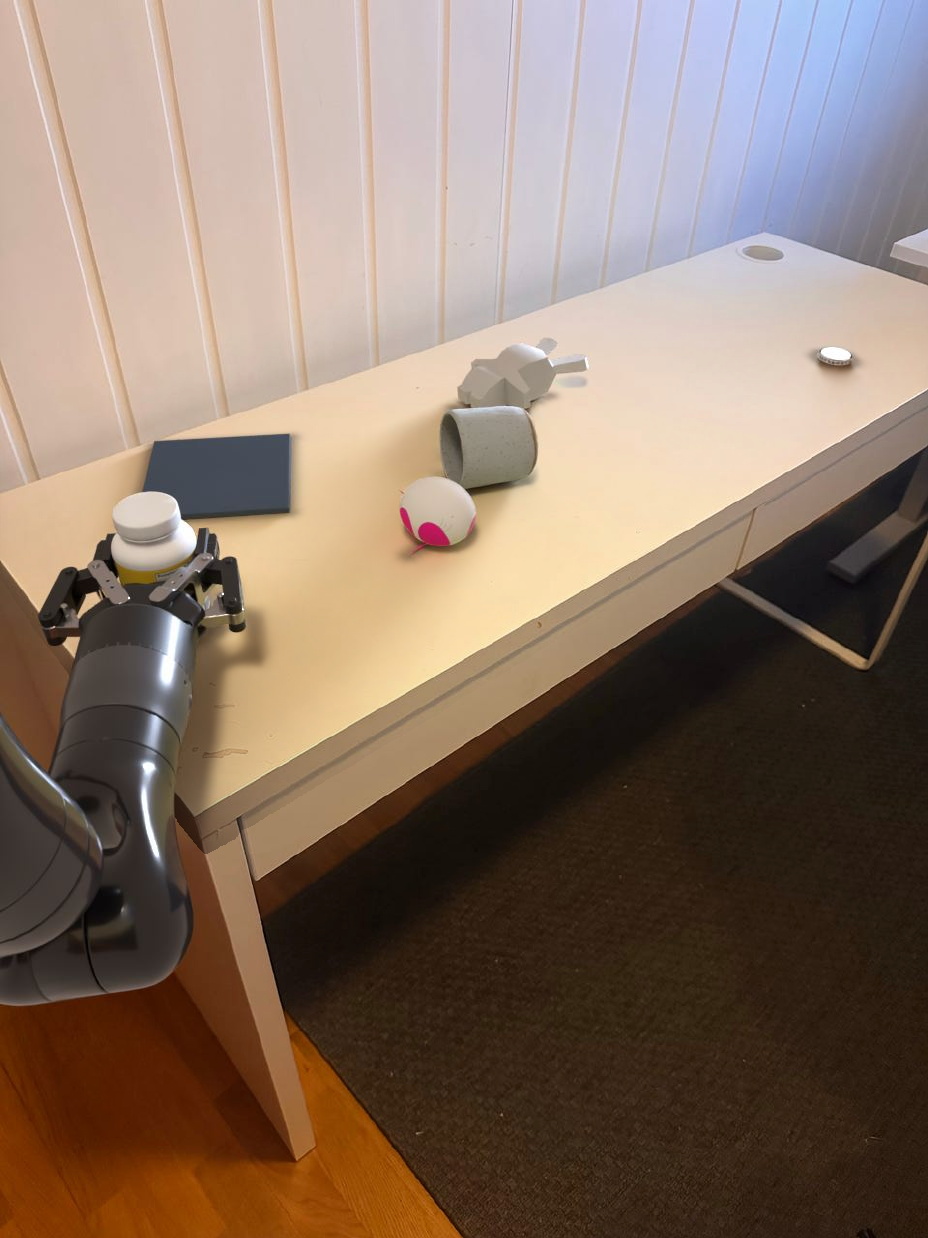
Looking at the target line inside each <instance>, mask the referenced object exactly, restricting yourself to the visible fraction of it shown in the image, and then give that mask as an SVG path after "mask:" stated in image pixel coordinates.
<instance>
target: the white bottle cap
mask: <svg viewBox="0 0 928 1238" xmlns="http://www.w3.org/2000/svg"><path fill="white" fill-rule="evenodd" d="M853 356H854V355H853V353H852V352H851V351H849V350H847V349H845V348H841V347H838V346H824V347H821V348H820V349H819V350H818V353H817V358H818V359H819V360H820V361H822V362H823V363H826V364H829V365H834V366H846V365H849V364H851V363H852V360H853Z"/></svg>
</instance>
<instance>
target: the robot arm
mask: <svg viewBox="0 0 928 1238" xmlns="http://www.w3.org/2000/svg"><path fill="white" fill-rule="evenodd" d="M116 533H117V532H113V533H112V532H111V533H110V532H109V533H107V534H106V536H105V539H100V541H99V542H98V543H97V545H96V547H95V551H94V554H93V559H92V560H91V561H90V562H89V563H88V564H86V567H85V568H83V569H82V568H81V569H78V568H77V567H75V566H67V567H64V568H62V569H60V571H59V573H58V575H57V576H56V577H57V578H56V580H55V581H54V583H53V585H52V587H51V589H50V591H49V593H48V595H47V597H46V598H45V600H44V603H43V604H42V606H41V609H40V610H39V612H38V614H37V619H38V621H39V625H40V627H41V629H42V632H43V634H44V637H45V639H46V642H47V644H48V645H49V646H51V647H58V646H61V645H63V644H64V643H65V642H66V641H67V639H68V638H79V639H78V644H77V647H76V651H75V655H74V658H73V662H72V665H71V669H70V672H69V676H68V679H67V680H68V681H67V683H66V687H65V690H64V694H63V698H62V701H61V702H62V703H61V707H60V712H59V713H60V715H59V727H58V733H57V737H56V740H55V743H54V748H53V751H52V754H51V759H50V761H49V762H50V763H49V767H48V771H47V770H46V769H45V768H44V767H43V765H42V764H40V762H39V761H38V760H37V759H36V758H35V757H34V756H33V755H32V754H31V753H30V752H29V750H28V749H27V748H26V747H25V746H24V744H23V743H22V742H21V740H20V739H19V737H18V735H17V734H16V733H15V731H14V730H13V729H12V727H11V726H10V724H9V722H8V721H7V720H6V718H5V717H4V715H3V713H2V712H1V711H0V1005H4V1006H5V1005H6V1006H13V1007H15V1006H16V1007H24V1006H27V1007H28V1006H37V1005H43V1004H49V1003H50V1004H51V1003H56V1002H63V1001H69V1000H75V999H76V1000H77V999H82V998H88V997H95V996H100V995H107V994H116V993H123V992H130V991H135V990H136V991H137V990H142V989H146V988H149V987H152V986H156V985H157V984H159V983H162V982H163V981H164V980H167V978H168V977H169V976H170V975H172V973H174V971H175V970H176V969H177V968H178V966H179V965H180V964H181V962H182V961H183V959H184V957H185V955H186V954H187V951H188V949H189V948H190V944H191V942H192V937H193V932H194V925H195V916H194V907H193V902H192V901H193V900H192V895H191V891H190V887H189V883H188V879H187V875H186V872H185V868H184V864H183V859H182V856H181V852H180V847H179V841H178V840H179V839H178V835H177V834H178V833H177V827H176V818H175V817H176V816H175V815H176V814H175V793H176V783H177V782H176V781H177V773H178V767H179V759H180V753H181V747H182V744H183V740H184V738H185V735H186V731H187V729H188V728H187V727H188V724H189V723H188V722H189V718H190V713H191V710H192V709H193V708H192V707H193V700H194V699H193V695H192V693H193V686H194V679H195V670H196V662H197V654H198V645H199V641H200V639H201V637H203V635H205V633H206V632H207V629H208V628H213V627H220V626H227V625H228V629H229V632H232V633H234V634H235V633H236V634H238V633H242V632H244V631H245V630H246V628H247V621H246V611H245V603H244V602H245V601H244V594H243V585H242V580H241V579H242V578H241V575H240V569H239V564H238V558H236V557H235V556H230V555H229V556H228V555H227V556H225V557H222V558H221V559H220V555H221V549H220V545H219V540H218V539H219V538H218V536H217V534H216V533H214V532H212V533H211V532H210V529H209V527H199V528H198V530H197V537H196V540H197V544H196V550H195V556H196V558H195V559H194V560H193V561H192V562H191V563H190V564H189V565H188V566H187V567H180V568H179V569H178V570H177V571H176V572H175V573H174V574H173V575H172V576H171V577H170V578H169V579H168V580H167V581H158V582H153V583H149V584H143V583H126V584H125V586H124V587H122V586H121V584H120V581H119V578H118V574H117V571H116V568H115V564H114V560H113V557H112V552H111V543H112V540H113V538H114V536H115V534H116ZM217 585H218V586H222V591H219V592H218V593H216V598H215V599H214V600H213V602H212V605H211V607H210V608H209V609H206V610H204V609H203V605H204V603H205V598H206V596H207V595H209V594H210V593H211V592H212V591H213V590H214V589H215V588H216V586H217ZM93 593H95V594H96V596H97V598H98V600H99V601H98V602H97V603H95V604H94V605H93V606H92V607H90V608H89V609H88V610H86V611H85V612H84V613H83V614H82V615H81V616H80V617H78V615H79V613H80V611H81V608H82V607H83V605H84V602H85V600H86V598H87V595H89V594H93Z"/></svg>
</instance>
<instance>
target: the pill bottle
mask: <svg viewBox="0 0 928 1238" xmlns="http://www.w3.org/2000/svg"><path fill="white" fill-rule="evenodd" d="M111 518H112V522H113V526H114V530H115V531H116V532H115V533H116V534H115V536H114V538H113V540H112V543H111V552H112V557H113V560H114V564H115V568H116V571H117V574H118V581H119V583H120V584H121V586H122V587H124V586H125V584H126V583H143V584H149V583H153V582H158V581H167V580H168V579H169V578H170V577H171V576H172V575H173V574H174V573H175V572H176V571H177V570H178V569H179V568H180V567H187V566H188V565H189V564H190V563H191V562H192V561H193V560H194V559H195V558H196V556H195V550H196V544H197V537H196V534H195V531H194V529H193V528H192V526H190V525H189V523H188V522H186V521H185V520H184V519H181V515H180V510H179V507H178V503H177V501H176V500H175V499H174V498H173V497H172V496H170V495H168V494H165V493H161V492H142V491H141V492H138V493H135V494H130V495H128V496H126V497H124V498H122V499H121V500H119V502H116V504H115V505H114V507H113V508H112V510H111ZM211 606H212V605H211V601H210V596H209V594H208V595H207V596H206V598H205V603H204V605H203V609H204V610H206V609H209V608H210V607H211Z"/></svg>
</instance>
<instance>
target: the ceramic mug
mask: <svg viewBox="0 0 928 1238" xmlns="http://www.w3.org/2000/svg"><path fill="white" fill-rule="evenodd" d="M438 435H439V437H438V438H439V451H440V457H441V458H440V459H441V463H442V468H443V472H444V475H445V478H447V479H450V480H452V481H454V482H456V483H458V484H459V485H460V486H462V487H463V488H464V489H465V490H466V489H467V490H468V489H472V488H478V487H484V486H490V485H494V484H499V483H507V482H514V481H517V480H521V479H524V478H525V477H528V476H529V475H530V474H531V473H532V472H534V471H533V470H534V469H535V467H536V465H537V461H538V457H539V440H538V439H539V437H538V432H537V429H536V425H535V422H534V420H533V418H532V416H531V415H530V413H529V412H528V411H527V410H526V409H523V408H520V407H515V406H511V405H506V406H496V407H485V408H472V407H470V408H457V409H456V408H455V409H448V410H446V411H445V412H444V413H443V415H442V416H441V419H440V423H439V434H438Z"/></svg>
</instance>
